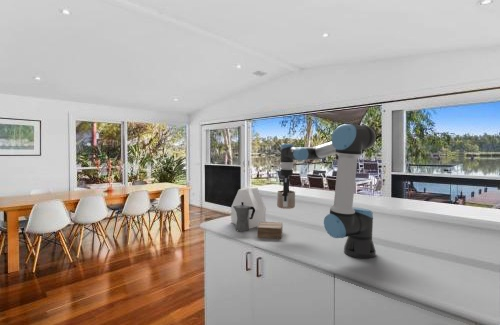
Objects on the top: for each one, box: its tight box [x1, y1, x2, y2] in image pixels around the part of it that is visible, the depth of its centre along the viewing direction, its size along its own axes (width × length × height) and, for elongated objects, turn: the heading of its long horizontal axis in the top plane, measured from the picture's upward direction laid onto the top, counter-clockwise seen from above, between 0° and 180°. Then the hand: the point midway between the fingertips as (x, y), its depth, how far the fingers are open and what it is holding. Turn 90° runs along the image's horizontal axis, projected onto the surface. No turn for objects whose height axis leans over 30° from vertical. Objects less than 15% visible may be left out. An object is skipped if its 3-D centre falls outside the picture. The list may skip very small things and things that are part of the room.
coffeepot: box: [233, 202, 255, 232], centre depth 193 cm, size 15×9×18 cm, turn 69°
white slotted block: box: [230, 186, 267, 229], centre depth 208 cm, size 19×15×25 cm
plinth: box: [257, 221, 283, 240], centre depth 183 cm, size 14×14×6 cm
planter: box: [276, 189, 296, 210], centre depth 182 cm, size 11×11×10 cm
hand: (285, 204), depth 182 cm, fingers closed on planter, 11 cm apart
